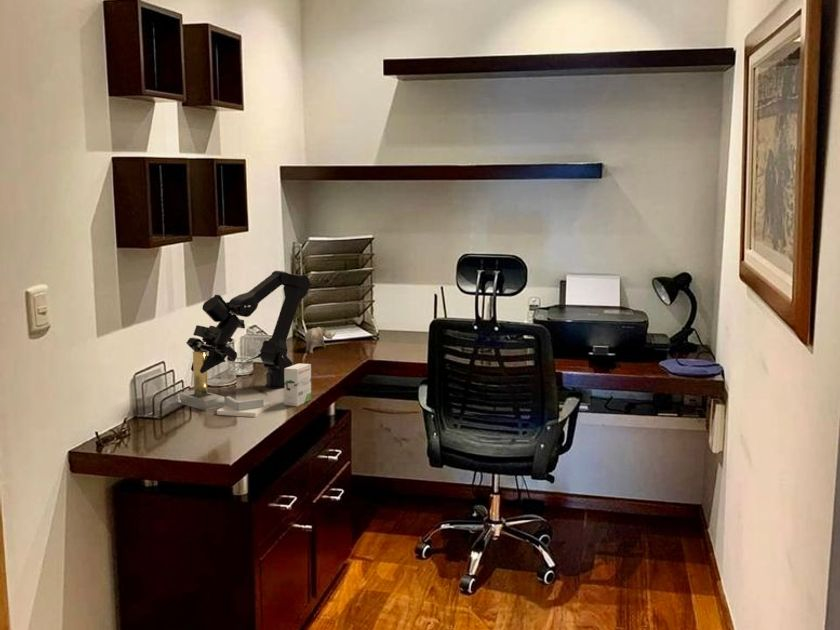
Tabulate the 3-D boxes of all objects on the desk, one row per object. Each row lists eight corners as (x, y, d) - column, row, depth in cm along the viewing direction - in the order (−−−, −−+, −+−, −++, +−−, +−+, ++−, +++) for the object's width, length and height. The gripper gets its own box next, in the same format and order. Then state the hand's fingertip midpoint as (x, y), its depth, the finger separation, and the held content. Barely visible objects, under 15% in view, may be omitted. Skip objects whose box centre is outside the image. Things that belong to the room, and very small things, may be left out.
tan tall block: (203, 390, 260) (202, 350, 258) (209, 393, 258) (208, 352, 255) (191, 392, 258) (190, 351, 256) (197, 395, 255) (196, 353, 253)
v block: (232, 404, 259) (231, 392, 258) (269, 406, 257) (269, 394, 257) (216, 414, 247) (216, 402, 247) (255, 416, 245) (255, 404, 245)
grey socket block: (177, 402, 260) (177, 393, 259) (196, 398, 265) (196, 389, 265) (205, 410, 251) (205, 401, 251) (224, 406, 257) (224, 396, 256)
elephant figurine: (292, 346, 338) (307, 314, 343) (307, 360, 349) (320, 329, 354) (309, 350, 334) (323, 317, 340) (322, 364, 346) (336, 332, 351)
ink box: (298, 398, 267) (298, 362, 265) (312, 400, 265) (311, 363, 263) (283, 404, 259) (283, 367, 258) (297, 406, 257) (297, 369, 256)
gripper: (190, 312, 263) (161, 351, 256) (228, 318, 251) (199, 360, 244) (211, 333, 270) (184, 372, 263) (249, 340, 259) (221, 381, 252)
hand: (196, 371), depth 256 cm, fingers closed on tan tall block, 4 cm apart
